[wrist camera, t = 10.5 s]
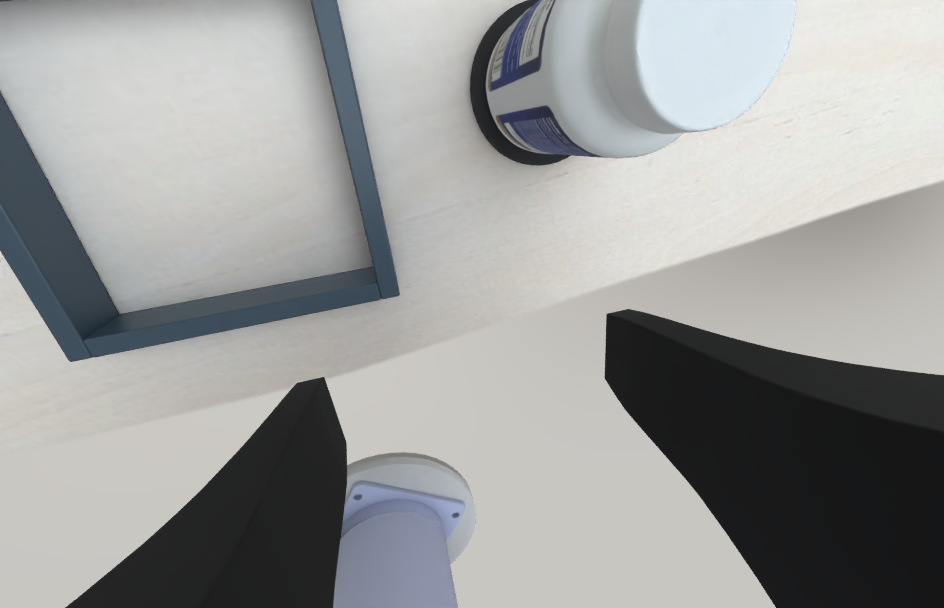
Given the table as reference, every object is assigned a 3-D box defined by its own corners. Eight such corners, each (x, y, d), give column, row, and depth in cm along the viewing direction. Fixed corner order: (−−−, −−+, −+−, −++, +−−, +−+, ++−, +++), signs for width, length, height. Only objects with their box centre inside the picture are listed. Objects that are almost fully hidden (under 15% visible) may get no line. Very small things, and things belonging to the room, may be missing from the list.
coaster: (560, 188, 20) (564, 189, 19) (444, 121, 17) (446, 120, 17) (631, 57, 18) (637, 55, 18) (515, -37, 16) (518, -41, 15)
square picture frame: (396, 278, 19) (400, 296, 17) (108, 334, 17) (68, 363, 15) (326, -50, 14) (317, -86, 12) (-93, -24, 12) (-198, -62, 10)
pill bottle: (610, 128, 19) (822, 116, 10) (505, 170, 18) (628, 198, 9) (585, -8, 16) (835, -182, 8) (465, 38, 16) (580, -89, 7)
